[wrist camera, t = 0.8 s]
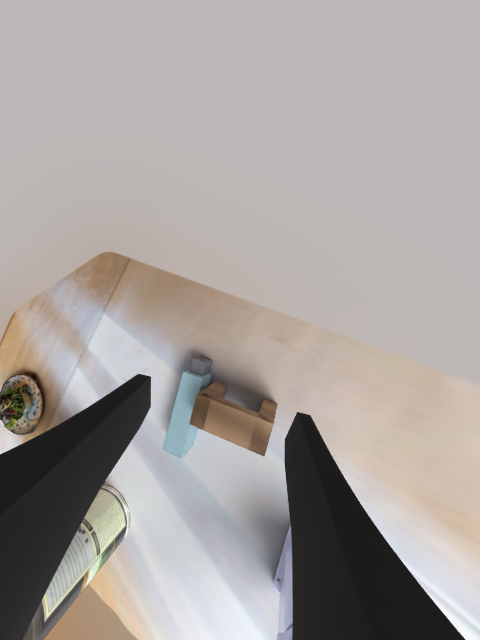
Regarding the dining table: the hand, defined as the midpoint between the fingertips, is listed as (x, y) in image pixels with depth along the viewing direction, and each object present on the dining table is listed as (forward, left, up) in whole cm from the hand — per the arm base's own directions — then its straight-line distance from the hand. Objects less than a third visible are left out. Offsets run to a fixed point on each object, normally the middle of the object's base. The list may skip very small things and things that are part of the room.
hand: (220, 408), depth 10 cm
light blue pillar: (-12, +9, -22) cm, 27 cm away
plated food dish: (-24, +44, -22) cm, 55 cm away
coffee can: (-36, +20, -22) cm, 46 cm away
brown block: (-9, +2, -22) cm, 24 cm away
